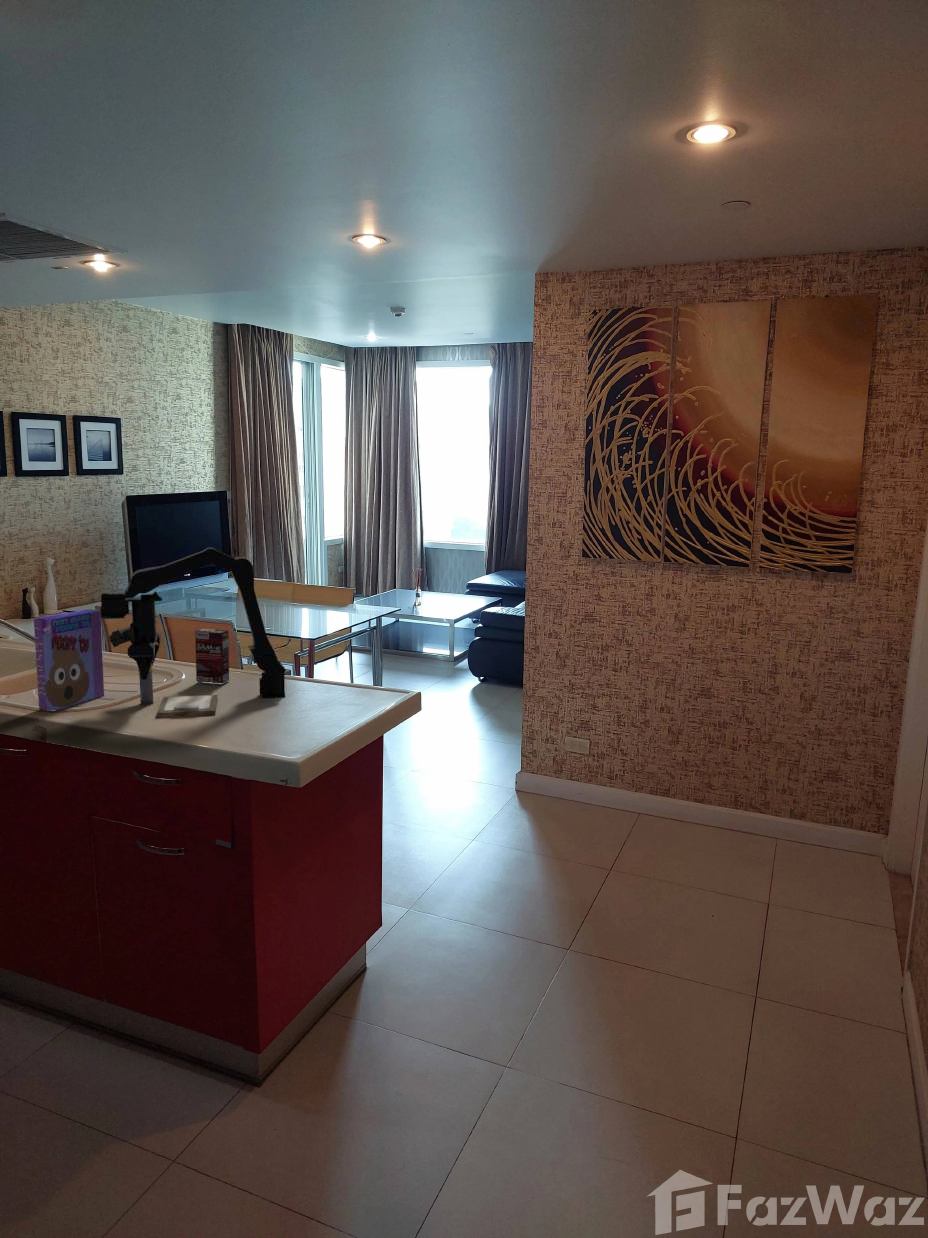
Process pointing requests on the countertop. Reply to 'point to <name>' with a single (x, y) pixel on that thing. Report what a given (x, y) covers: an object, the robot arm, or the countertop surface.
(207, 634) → the supplement box
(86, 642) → the cereal box
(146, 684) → the marker
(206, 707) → the clipboard
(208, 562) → the robot arm
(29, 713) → the countertop surface
